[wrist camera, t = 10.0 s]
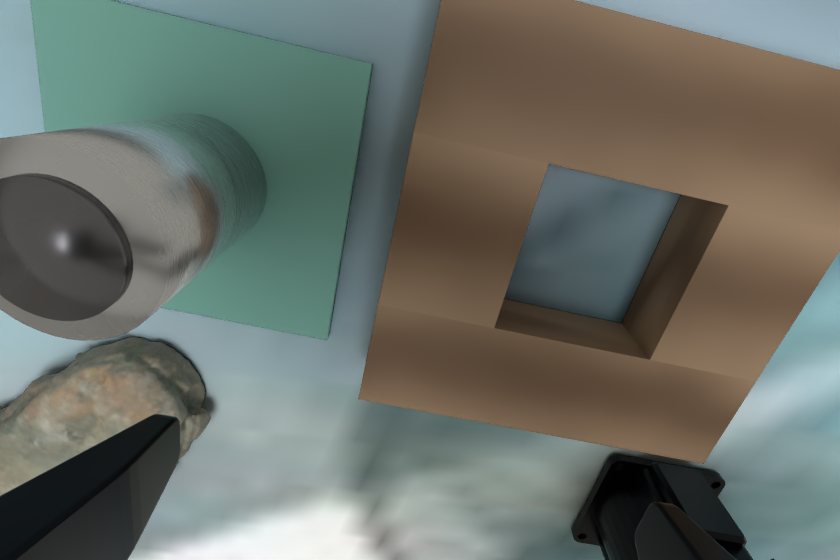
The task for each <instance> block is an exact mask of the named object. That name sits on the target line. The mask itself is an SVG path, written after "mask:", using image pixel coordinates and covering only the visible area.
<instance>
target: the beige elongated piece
mask: <svg viewBox="0 0 840 560" xmlns="http://www.w3.org/2000/svg"><path fill="white" fill-rule="evenodd" d="M204 398H205V390H204V385H203V383H202V382H201V380H200V376H199V374H198V373H197V372H196V371H195V369H194V368H193V366H192V365H191V364H190V362H189V361H188V360H187V359H185V358H184V357H183V356H182V355H181V354H179V353H178V352H177V351H175V350H174V349H173V348H171V347H168V346H167V345H165V344H164V343H161V342H152V341H149V340H148V339H143V338H135V337H129V338H127V339H124V340H119V341H117V342H115V343H112V344H108V345H101V346H98V347H95V348H92V349H90V350H89V351H87V352H85V353H79V354H77V356H76V359H75V361H74V362H72V363H71V364H70V365H68V367H67V368H66V369H65V370H63V371H61V372H59V373H57V374H49V375H45V376H42V377H40V378H38V379H36V380H34V381H33V382H32V383H31V384H30V385H29V386H28V388H27V389H26V390H25V391H24V393H23V394H21V395H20V396H18V397H17V398H16V399H15V400H14V401H13V402H12V403H11V404H10V405H9V406H8V407H5V408H3V409H0V496H1V495H2V494H4V493H6V492H8V491H10V490H12V489H14V488H16V487H17V486H19V485H21V484H23V483H25V482H27V481H29V480H31V479H32V478H34V477H36V476H38V475H40V474H42V473H44V472H46V471H48V470H49V469H51V468H53V467H55V466H57V465H59V464H61V463H63V462H64V461H66V460H68V459H70V458H72V457H74V456H76V455H78V454H80V453H81V452H83V451H85V450H87V449H89V448H91V447H93V446H95V445H96V444H98V443H100V442H102V441H104V440H106V439H108V438H110V437H112V436H113V435H115V434H117V433H119V432H121V431H123V430H125V429H127V428H128V427H130V426H132V425H134V424H136V423H138V422H140V421H142V420H143V419H145V418H147V417H149V416H151V415H154V414H163V415H169V416H174V417H177V418H178V419H179V421H180V456H179V459H180V458H182V457H183V456H184V455H185V454H186V453H187V452H188V450H189V448H190V445H191V443H192V441H193V440H194V439H196V438H198V437H199V435H200V434H201V433H202V432H203V430H204V429H205V428H206V426H207V425H208V423H209V421H210V419H211V416H210V414H209V413H208V412H207V411H206V410H205V409H204V408H201V404H202V403H203V400H204ZM178 462H179V460H178ZM178 462H177V464H178Z"/></svg>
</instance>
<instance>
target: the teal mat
mask: <svg viewBox="0 0 840 560" xmlns="http://www.w3.org/2000/svg"><path fill="white" fill-rule="evenodd" d="M30 1H31V10H32V19H33V28H34V37H35V46H36V55H37V64H38V73H39V82H40V91H41V100H42V109H43V119H44V128H45V132H51V131H59V130H66V129H73V128H81V127H88V126H96V125H103V124H111V123H118V122H125V121H133V120H140V119H148V118H155V117H162V116H170V115H177V114H200V115H205V116H209V117H212V118H215V119H217V120H219V121H221V122H223V123H225V124H227V125H229V126H230V127H231V128H233V129H234V130H236V131H237V132H238V133H239V134H240V135H241V136H242V137H244V139H245V140H246V141H247V142H248V143H249V144H250V145H251V147H252V148H253V150H254V151H255V153H256V154H257V156H258V158H259V160H260V162H261V165H262V167H263V170H264V174H265V178H266V185H267V196H266V203H265V206H264V210H263V212H262V214H261V216H260V218H259V220H258V221H257V223H256V224H255V225H254V226H253V227H252V228H251V229H250V230H249V231H248V232H247V233H246V234H245V235H243V236H242V237H241V238H240V239H239V240H238V241H236V242H235V243H234V244H233V245H232V246H231V247H229V248H228V249H227V250H226V251H225V252H224V253H223V254H221V255H220V256H219V257H218V258H217V259H216V260H214V261H213V262H212V263H211V264H210V265H209V266H208V267H206V268H205V269H204V270H203V271H202V272H201V273H199V274H198V275H197V276H196V277H195V278H194V279H193V280H191V281H190V282H189V283H188V284H187V285H186V286H184V287H183V288H182V289H181V290H180V291H179V292H178V293H176V294H175V295H174V296H173V297H172V298H171V299H169V300H168V301H167V302H166V303H165V304H164V305H163V306H161V307H160V308H165V309H170V310H175V311H181V312H186V313H191V314H196V315H201V316H206V317H211V318H216V319H221V320H227V321H232V322H237V323H242V324H247V325H252V326H257V327H262V328H267V329H273V330H278V331H283V332H288V333H293V334H298V335H303V336H308V337H313V338H319V339H324V340H327V339H328V336H329V333H330V327H331V320H332V314H333V308H334V302H335V296H336V290H337V283H338V277H339V271H340V265H341V259H342V253H343V247H344V240H345V234H346V228H347V222H348V216H349V210H350V204H351V197H352V191H353V185H354V179H355V173H356V167H357V161H358V154H359V148H360V142H361V136H362V130H363V124H364V118H365V111H366V105H367V99H368V93H369V87H370V81H371V74H372V68H373V64H370V63H366V62H362V61H358V60H354V59H350V58H346V57H341V56H337V55H333V54H329V53H325V52H321V51H317V50H313V49H309V48H304V47H300V46H296V45H292V44H288V43H284V42H280V41H276V40H272V39H267V38H263V37H259V36H255V35H251V34H247V33H243V32H239V31H234V30H230V29H226V28H222V27H218V26H214V25H210V24H206V23H202V22H197V21H193V20H189V19H185V18H181V17H177V16H173V15H169V14H165V13H160V12H156V11H152V10H148V9H144V8H140V7H136V6H132V5H128V4H123V3H119V2H115V1H111V0H30Z"/></svg>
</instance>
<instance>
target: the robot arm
mask: <svg viewBox="0 0 840 560" xmlns="http://www.w3.org/2000/svg"><path fill="white" fill-rule="evenodd" d="M179 456H180V421H179V419H178V418H177V417H174V416H169V415H163V414H154V415H151V416H149V417H147V418H145V419H143V420H142V421H140V422H138V423H136V424H134V425H132V426H130V427H128V428H127V429H125V430H123V431H121V432H119V433H117V434H115V435H113V436H112V437H110V438H108V439H106V440H104V441H102V442H100V443H98V444H96V445H95V446H93V447H91V448H89V449H87V450H85V451H83V452H81V453H80V454H78V455H76V456H74V457H72V458H70V459H68V460H66V461H64V462H63V463H61V464H59V465H57V466H55V467H53V468H51V469H49V470H48V471H46V472H44V473H42V474H40V475H38V476H36V477H34V478H32V479H31V480H29V481H27V482H25V483H23V484H21V485H19V486H17V487H16V488H14V489H12V490H10V491H8V492H6V493H4V494H2V495H1V496H0V560H128V558H129V556H130V555H131V553H132V551H133V550H134V548H135V546H136V544H137V542H138V540H139V539H140V537H141V535H142V533H143V531H144V529H145V527H146V525H147V523H148V521H149V519H150V517H151V515H152V513H153V511H154V509H155V507H156V505H157V503H158V501H159V499H160V497H161V495H162V493H163V491H164V489H165V487H166V485H167V483H168V481H169V479H170V477H171V475H172V473H173V471H174V469H175V467H176V465H177V462H178V460H179ZM618 464H619V465H618ZM724 486H725V481H724V480H723V478H722V477H721V476H720V475H719V474H718V473H715V472H710V471H704V470H699V469H693V468H688V467H683V466H677V465H672V464H667V463H661V462H656V461H650V460H645V459H640V458H634V457H629V456H623V455H614V456H612V457H610V458H609V459H608V461H607V463H606V465H605V467H604V468H603V470H602V472H601V474H600V476H599V478H598V480H597V482H596V484H595V486H594V488H593V490H592V491H591V493H590V495H589V497H588V499H587V501H586V503H585V505H584V507H583V509H582V511H581V513H580V514H579V516H578V518H577V520H576V522H575V524H574V526H573V528H572V534H573V537H574V540H575V541H577V542H581V543H587V544H593V545H599V546H600V547H601V550H602V553H603V555H604V558H605V560H753V559H752V557H751V556H750V554H749V553H748V551H747V550H746V548H745V547H744V546H745V544H746V543H747V541H746V538H745V537H744V535H743V533H742V532H741V530H740V529H739V527H738V526H737V524H736V523H735V522H734V520H733V519H732V517H731V516H730V514H729V513H728V511H727V510H726V508H725V507H724V506H723V504H722V503H721V501H720V500H719V498H718V495H719V494H720V492H721V491H722V489H723V488H724ZM771 560H774V558H773V559H771Z"/></svg>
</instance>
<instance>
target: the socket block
mask: <svg viewBox="0 0 840 560" xmlns="http://www.w3.org/2000/svg"><path fill="white" fill-rule="evenodd" d="M549 164H553V165H557V166H562V167H566V168H570V169H574V170H579V171H583V172H587V173H592V174H596V175H600V176H604V177H609V178H613V179H617V180H622V181H626V182H630V183H634V184H639V185H643V186H647V187H652V188H656V189H660V190H664V191H669V192H673V193H677V194H681V196H680V198H679V200H678V203H677V205H676V207H675V209H674V211H673V213H672V216H671V218H670V220H669V222H668V224H667V226H666V229H665V231H664V233H663V235H662V237H661V239H660V241H659V244H658V246H657V248H656V250H655V252H654V254H653V257H652V259H651V261H650V263H649V265H648V267H647V270H646V272H645V274H644V276H643V278H642V280H641V283H640V285H639V287H638V289H637V291H636V293H635V296H634V298H633V300H632V302H631V304H630V306H629V309H628V311H627V313H626V315H625V317H624V319H623V322H622V323H617V322H612V321H607V320H603V319H598V318H593V317H588V316H583V315H579V314H574V313H569V312H564V311H559V310H555V309H550V308H545V307H540V306H535V305H531V304H526V303H521V302H516V301H511V300H507V299H504V297H505V294H506V291H507V288H508V285H509V282H510V279H511V276H512V273H513V270H514V267H515V264H516V261H517V258H518V255H519V252H520V249H521V246H522V243H523V240H524V237H525V234H526V231H527V228H528V225H529V222H530V219H531V216H532V213H533V210H534V207H535V204H536V201H537V198H538V195H539V192H540V189H541V186H542V183H543V180H544V177H545V174H546V171H547V168H548V165H549ZM839 251H840V70H838V69H834V68H830V67H826V66H823V65H819V64H815V63H811V62H807V61H804V60H800V59H796V58H792V57H788V56H784V55H781V54H777V53H773V52H769V51H765V50H762V49H758V48H754V47H750V46H746V45H743V44H739V43H735V42H731V41H727V40H723V39H720V38H716V37H712V36H708V35H704V34H701V33H697V32H693V31H689V30H685V29H682V28H678V27H674V26H670V25H666V24H663V23H659V22H655V21H651V20H647V19H643V18H640V17H636V16H632V15H628V14H624V13H621V12H617V11H613V10H609V9H605V8H602V7H598V6H594V5H590V4H586V3H582V2H579V1H575V0H441V2H440V7H439V12H438V17H437V22H436V26H435V31H434V36H433V41H432V46H431V51H430V55H429V60H428V65H427V70H426V75H425V80H424V84H423V89H422V94H421V99H420V104H419V109H418V113H417V118H416V123H415V128H414V133H413V138H412V142H411V147H410V152H409V157H408V162H407V167H406V171H405V176H404V181H403V186H402V191H401V196H400V200H399V205H398V210H397V215H396V220H395V225H394V229H393V234H392V239H391V244H390V249H389V254H388V258H387V263H386V268H385V273H384V278H383V283H382V287H381V292H380V297H379V302H378V307H377V311H376V316H375V321H374V326H373V331H372V336H371V340H370V345H369V350H368V355H367V360H366V365H365V369H364V374H363V379H362V384H361V389H360V394H359V398H358V399H360V400H365V401H371V402H376V403H381V404H387V405H392V406H397V407H403V408H408V409H413V410H419V411H424V412H429V413H435V414H440V415H445V416H451V417H456V418H461V419H467V420H472V421H478V422H483V423H488V424H494V425H499V426H504V427H510V428H515V429H520V430H526V431H531V432H536V433H542V434H547V435H552V436H558V437H563V438H569V439H574V440H579V441H585V442H590V443H595V444H601V445H606V446H611V447H617V448H622V449H627V450H633V451H638V452H643V453H649V454H654V455H660V456H665V457H670V458H676V459H681V460H686V461H692V462H697V463H702V464H704V462H705V460H706V459H707V457H708V456H709V454H710V453H711V451H712V450H713V448H714V446H715V445H716V443H717V442H718V440H719V439H720V437H721V435H722V434H723V432H724V431H725V429H726V428H727V426H728V424H729V423H730V421H731V420H732V418H733V417H734V415H735V414H736V412H737V410H738V409H739V407H740V406H741V404H742V403H743V401H744V399H745V398H746V396H747V395H748V393H749V392H750V390H751V388H752V387H753V385H754V384H755V382H756V381H757V379H758V378H759V376H760V374H761V373H762V371H763V370H764V368H765V367H766V365H767V363H768V362H769V360H770V359H771V357H772V356H773V354H774V352H775V351H776V349H777V348H778V346H779V345H780V343H781V342H782V340H783V338H784V337H785V335H786V334H787V332H788V331H789V329H790V327H791V326H792V324H793V323H794V321H795V320H796V318H797V316H798V315H799V313H800V312H801V310H802V309H803V307H804V306H805V304H806V302H807V301H808V299H809V298H810V296H811V295H812V293H813V291H814V290H815V288H816V287H817V285H818V284H819V282H820V280H821V279H822V277H823V276H824V274H825V273H826V271H827V270H828V268H829V266H830V265H831V263H832V262H833V260H834V259H835V257H836V255H837V254H838V252H839Z"/></svg>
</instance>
